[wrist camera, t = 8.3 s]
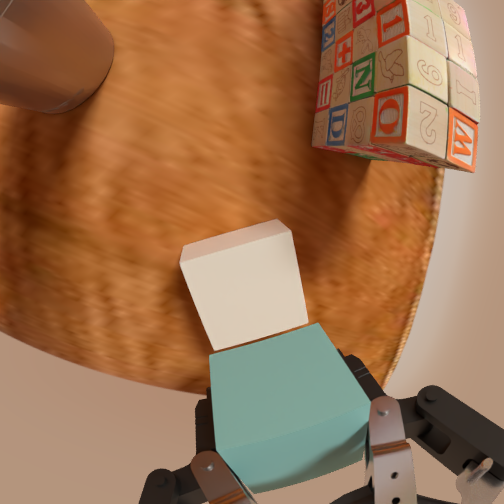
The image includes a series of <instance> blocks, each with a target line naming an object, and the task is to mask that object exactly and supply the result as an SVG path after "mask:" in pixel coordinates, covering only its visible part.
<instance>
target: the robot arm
mask: <svg viewBox="0 0 504 504" xmlns="http://www.w3.org/2000/svg"><path fill="white" fill-rule="evenodd" d="M113 55H114V43H113V38H112V36H111V34H110V32H109V31H108V30H107V28H106V27H105V26H104V25H103V23H102V22H101V21H100V19H99V18H98V17H97V16H96V14H95V13H94V12H93V10H92V9H91V8H90V7H89V5H88V4H87V3H86V2H85V0H0V104H3V105H9V106H14V107H19V108H24V109H29V110H33V111H38V112H43V113H47V114H58V113H63V112H66V111H68V110H71V109H73V108H75V107H76V106H78V105H80V104H81V103H83V102H84V101H85V100H86V99H87V98H88V97H90V96H91V95H92V94H93V93H94V91H95V90H96V89H97V88H98V87H99V86H100V84H101V83H102V81H103V80H104V78H105V77H106V75H107V73H108V70H109V68H110V66H111V63H112V59H113ZM336 350H337V351H338V353H339V354H340V356H341V357H342V359H343V360H344V362H345V363H346V365H347V366H348V368H349V370H350V371H351V373H352V374H353V376H354V377H355V379H356V380H357V382H358V383H359V385H360V386H361V388H362V389H363V391H364V392H365V394H366V395H367V397H368V398H369V400H370V401H371V405H370V414H369V421H368V428H367V435H366V441H365V447H364V451H365V482H364V487H361V488H359V489H357V490H354V491H352V492H350V493H347V494H344V495H343V496H341V497H340V498H338V499H337V500H335V501H333V502H332V503H330V504H457V503H451V502H446V501H442V500H437V499H433V498H428V497H425V496H421V495H418V494H416V485H415V475H414V467H413V459H412V452H411V447H410V445H409V443H407V442H406V439H407V438H411V439H412V440H414V441H415V442H416V443H417V444H418V445H420V446H421V447H422V448H423V449H425V450H426V451H427V452H428V453H429V454H431V455H432V456H433V457H435V458H436V459H437V460H438V461H439V462H441V463H442V464H443V465H444V466H446V467H447V468H448V469H449V470H451V471H452V472H453V473H455V474H456V475H457V476H458V477H457V480H456V487H457V490H458V491H459V492H460V493H461V496H462V502H461V504H492V502H493V501H494V500H495V499H496V497H497V496H498V494H499V493H500V492H501V490H502V489H503V488H504V429H502V428H501V427H499V426H498V425H496V424H495V423H493V422H492V421H490V420H489V419H487V418H485V417H484V416H483V415H481V414H479V413H478V412H477V411H475V410H473V409H472V408H470V407H469V406H467V405H466V404H464V403H463V402H461V401H460V400H458V399H457V398H455V397H454V396H452V395H451V394H449V393H448V392H446V391H445V390H443V389H442V388H440V387H438V386H434V385H430V386H427V387H424V388H422V389H421V390H420V391H419V393H418V395H417V396H414V397H410V398H406V399H394V398H392V397H390V396H387V395H386V394H385V393H384V391H383V390H382V389H381V387H380V386H379V384H378V383H377V382H376V380H375V379H374V378H373V376H372V375H371V373H369V371H368V369H367V368H366V367H365V365H364V364H363V363H362V361H361V360H360V359H359V358H357V357H355V356H354V355H352V354H351V355H349V356H346V357H344V355H343V354H342V352H341V351H340V350H339V349H336ZM206 392H207V399H202V400H199V401H198V404H197V406H196V408H195V418H196V420H195V424H196V455H195V456H194V458H193V459H192V461H191V463H190V464H189V465H187V466H185V467H183V468H180V469H178V470H175V471H173V472H171V471H169V470H167V469H157V470H154V471H152V472H151V473H150V474H149V475H148V477H147V479H146V482H145V485H144V488H143V491H142V494H141V498H140V501H139V504H202V503H204V502H207V501H208V502H209V504H258V503H257V502H256V500H255V499H254V498H253V496H252V495H251V494H250V492H249V491H248V490H247V489H246V487H245V486H244V484H243V483H242V481H241V480H240V478H239V477H238V476H237V475H236V474H235V472H234V471H233V470H232V469H231V468H230V467H229V465H228V464H227V463H226V462H225V461H224V459H223V458H222V457H221V456H220V454H219V453H218V452H217V451H216V442H215V431H214V420H213V407H212V394H211V387H208V388H207V389H206Z"/></svg>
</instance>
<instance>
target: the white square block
mask: <svg viewBox="0 0 504 504" xmlns="http://www.w3.org/2000/svg"><path fill="white" fill-rule="evenodd" d="M179 263H180V266H181V269H182V272H183V274H184V277H185V280H186V282H187V285H188V288H189V290H190V293H191V296H192V298H193V301H194V303H195V306H196V308H197V311H198V313H199V316H200V318H201V321H202V323H203V325H204V328H205V330H206V333H207V335H208V337H209V340H210V342H211V344H212V347H213V349H214V351H216V350H220V349H223V348H227V347H231V346H234V345H238V344H242V343H245V342H249V341H252V340H256V339H259V338H262V337H266V336H269V335H272V334H275V333H279V332H282V331H285V330H288V329H291V328H294V327H297V326H300V325H303V324H306V323H308V317H307V311H306V306H305V300H304V294H303V289H302V283H301V278H300V273H299V268H298V262H297V257H296V252H295V247H294V242H293V237H292V233H291V230H290V229H289V228H287V227H286V226H285V225H284V224H283V223H282V222H280V221H279V220H278V219H274V220H271V221H267V222H264V223H260V224H256V225H253V226H249V227H246V228H242V229H239V230H235V231H232V232H228V233H225V234H221V235H218V236H214V237H211V238H208V239H204V240H201V241H198V242H194V243H191V244H187V245H184V246H183V250H182V254H181V258H180V262H179Z"/></svg>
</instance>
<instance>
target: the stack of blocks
mask: <svg viewBox="0 0 504 504" xmlns="http://www.w3.org/2000/svg"><path fill="white" fill-rule="evenodd" d="M323 4H324V5H323V17H322V27H323V32H322V48H321V52H322V55H321V66H320V81H319V83H318V92H317V102H316V112H315V118H314V127H313V136H312V144H311V145H312V147H315V148H320V149H325V150H330V151H335V152H340V153H347V154H351V155H355V156H359V157H363V158H367V159H371V160H382V161H394V162H402V163H410V164H415V165H422V166H429V167H435V168H448V169H454V170H459V171H465V172H470V173H474V172H475V167H476V155H477V141H478V126H477V124H478V123H479V122H480V99H479V86H478V81H477V79H476V78H477V70H476V64H475V57H474V51H473V46H472V43H471V37H470V32H469V27H468V23H467V19H466V15H465V11H464V9H463V8H462V7H460V6H459V5H458V4H456V3H455V2H454V1H453V0H323Z"/></svg>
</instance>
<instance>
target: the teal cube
mask: <svg viewBox="0 0 504 504" xmlns="http://www.w3.org/2000/svg"><path fill="white" fill-rule="evenodd" d="M209 361H210V378H211V394H212V407H213V420H214V431H215V442H216V451H217V452H218V453H219V454H220V456H221V457H222V458H223V459H224V461H225V462H226V463H227V464H228V465H229V467H230V468H231V469H232V470H233V471H234V472H235V474H236V475H237V476H238V477H239V478H240V479H241V480H242V481H243V483H244V484H245V485H246V486H247V487H248V488H249V489H250V490H251V491H252V492H253V493H254V494H256V493H261V492H266V491H270V490H275V489H279V488H283V487H286V486H290V485H293V484H297V483H301V482H304V481H307V480H310V479H314V478H317V477H320V476H322V475H325V474H328V473H331V472H334V471H336V470H339V469H341V468H344V467H346V466H349V465H351V464H354V463H356V462H358V461H361V460H362V457H363V452H364V447H365V441H366V435H367V428H368V421H369V414H370V405H371V401H370V400H369V398H368V397H367V395H366V394H365V392H364V391H363V389H362V388H361V386H360V385H359V383H358V382H357V380H356V379H355V377H354V376H353V374H352V373H351V371H350V370H349V368H348V366H347V365H346V363H345V362H344V360H343V359H342V357H341V356H340V354H339V353H338V351H337V350H336V348H335V347H334V345H333V344H332V342H331V341H330V339H329V338H328V336H327V335H326V333H325V332H324V331H323V329H322V328H321V326H320V325H319V323H316V324H313V325H310V326H307V327H304V328H301V329H298V330H295V331H292V332H289V333H286V334H282V335H279V336H276V337H273V338H269V339H266V340H263V341H259V342H256V343H252V344H249V345H245V346H242V347H238V348H234V349H231V350H227V351H223V352H219V353H215V354H211V355H209Z"/></svg>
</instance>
